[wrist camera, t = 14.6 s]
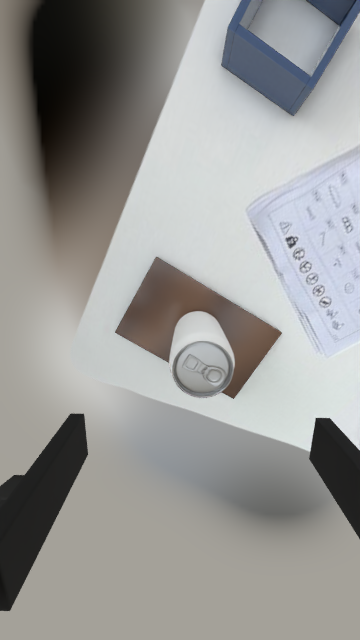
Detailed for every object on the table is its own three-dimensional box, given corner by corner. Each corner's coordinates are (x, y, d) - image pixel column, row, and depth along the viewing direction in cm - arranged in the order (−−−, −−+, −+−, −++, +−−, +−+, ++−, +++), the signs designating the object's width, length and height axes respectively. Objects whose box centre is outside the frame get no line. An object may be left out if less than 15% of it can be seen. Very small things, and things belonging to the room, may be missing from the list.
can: (206, 362, 35) (215, 413, 23) (166, 341, 34) (155, 382, 22) (229, 324, 33) (252, 357, 22) (188, 301, 33) (189, 323, 21)
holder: (221, 65, 27) (227, 27, 23) (273, -37, 25) (291, -101, 21) (293, 116, 28) (312, 89, 24) (350, 22, 26) (382, -27, 22)
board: (116, 330, 35) (114, 332, 34) (157, 257, 32) (156, 256, 31) (232, 395, 37) (233, 399, 36) (279, 330, 34) (282, 332, 33)
